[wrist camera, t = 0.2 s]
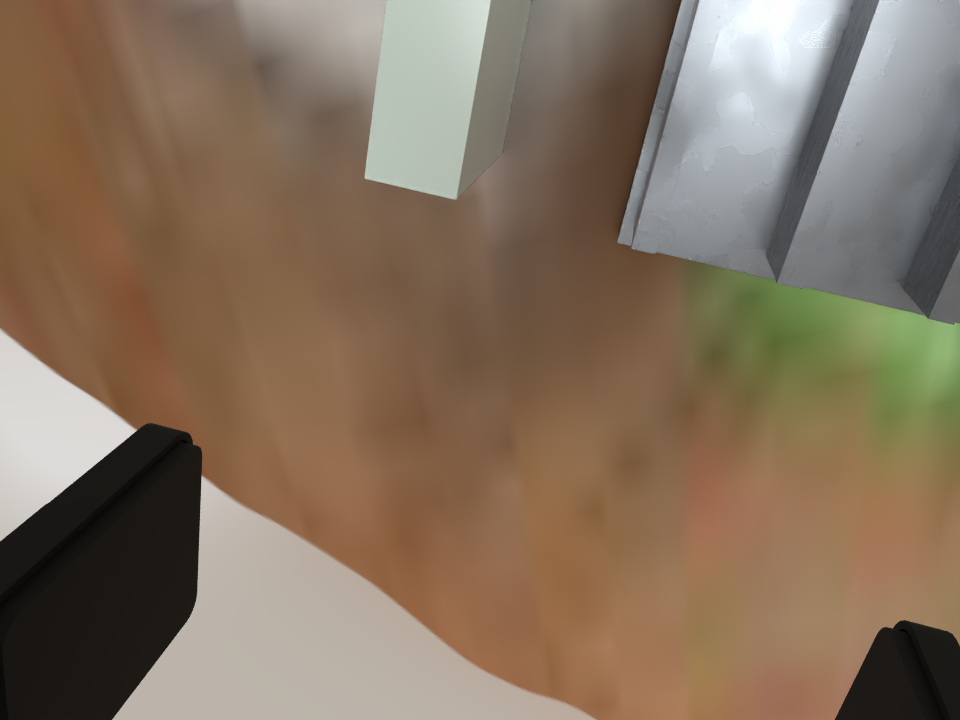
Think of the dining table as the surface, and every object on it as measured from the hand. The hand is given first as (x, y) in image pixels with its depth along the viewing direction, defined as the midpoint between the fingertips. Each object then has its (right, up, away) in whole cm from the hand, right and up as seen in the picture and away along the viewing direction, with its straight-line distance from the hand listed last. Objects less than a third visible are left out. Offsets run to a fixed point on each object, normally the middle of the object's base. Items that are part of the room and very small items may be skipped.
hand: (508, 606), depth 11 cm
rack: (+17, +13, +24) cm, 32 cm away
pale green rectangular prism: (0, +17, +26) cm, 31 cm away
